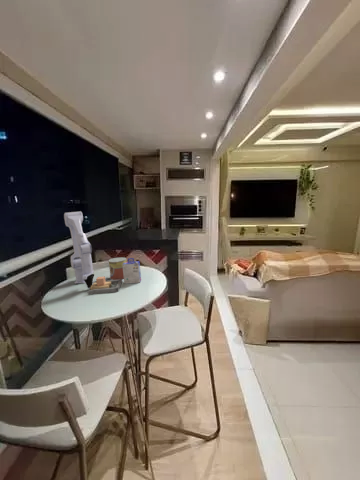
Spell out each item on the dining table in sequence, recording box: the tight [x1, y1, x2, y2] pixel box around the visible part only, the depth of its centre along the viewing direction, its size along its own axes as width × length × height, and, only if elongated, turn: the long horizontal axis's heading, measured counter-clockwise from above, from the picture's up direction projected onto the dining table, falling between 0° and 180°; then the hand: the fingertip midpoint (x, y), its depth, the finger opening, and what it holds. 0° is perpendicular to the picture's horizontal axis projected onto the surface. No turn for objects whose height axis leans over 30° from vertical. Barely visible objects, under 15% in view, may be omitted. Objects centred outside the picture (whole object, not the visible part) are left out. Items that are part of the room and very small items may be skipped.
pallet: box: [89, 281, 112, 290], centre depth 149 cm, size 8×10×2 cm
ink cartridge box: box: [122, 257, 142, 285], centre depth 156 cm, size 10×6×14 cm, turn 93°
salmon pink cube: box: [95, 276, 107, 286], centre depth 148 cm, size 4×4×4 cm
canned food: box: [108, 256, 128, 281], centre depth 166 cm, size 11×11×12 cm
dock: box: [87, 279, 123, 296], centre depth 149 cm, size 18×16×2 cm
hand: (90, 287), depth 148 cm, fingers closed, pressing on pallet
